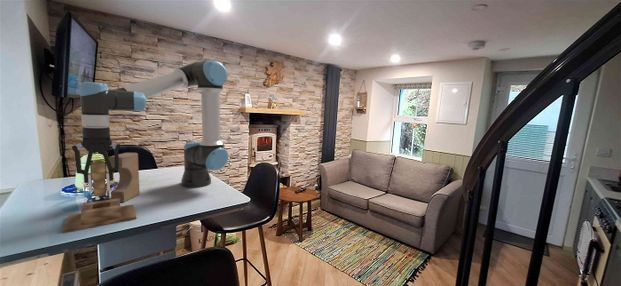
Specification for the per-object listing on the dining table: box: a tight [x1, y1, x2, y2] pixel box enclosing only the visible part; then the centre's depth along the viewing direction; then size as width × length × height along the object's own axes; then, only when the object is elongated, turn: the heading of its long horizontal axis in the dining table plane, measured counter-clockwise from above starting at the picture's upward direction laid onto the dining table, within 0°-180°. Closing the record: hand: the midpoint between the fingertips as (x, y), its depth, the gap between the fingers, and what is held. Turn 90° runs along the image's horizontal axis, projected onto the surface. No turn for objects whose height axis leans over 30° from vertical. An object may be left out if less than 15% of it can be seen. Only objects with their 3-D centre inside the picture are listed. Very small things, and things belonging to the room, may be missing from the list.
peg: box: [89, 160, 108, 197], centre depth 93 cm, size 4×4×12 cm
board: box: [62, 198, 137, 234], centre depth 95 cm, size 20×14×5 cm
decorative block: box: [108, 152, 140, 204], centre depth 115 cm, size 11×6×20 cm, turn 179°
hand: (99, 190), depth 94 cm, fingers closed on peg, 4 cm apart
